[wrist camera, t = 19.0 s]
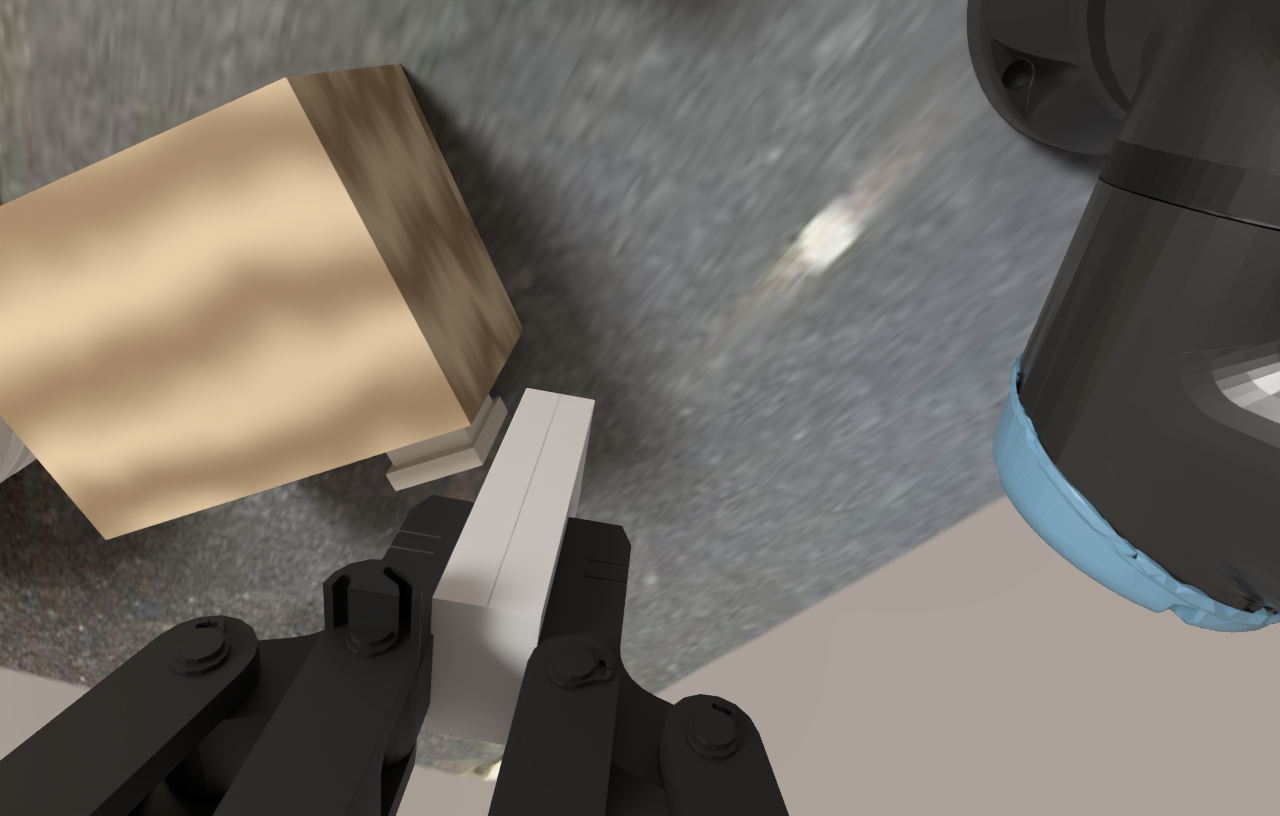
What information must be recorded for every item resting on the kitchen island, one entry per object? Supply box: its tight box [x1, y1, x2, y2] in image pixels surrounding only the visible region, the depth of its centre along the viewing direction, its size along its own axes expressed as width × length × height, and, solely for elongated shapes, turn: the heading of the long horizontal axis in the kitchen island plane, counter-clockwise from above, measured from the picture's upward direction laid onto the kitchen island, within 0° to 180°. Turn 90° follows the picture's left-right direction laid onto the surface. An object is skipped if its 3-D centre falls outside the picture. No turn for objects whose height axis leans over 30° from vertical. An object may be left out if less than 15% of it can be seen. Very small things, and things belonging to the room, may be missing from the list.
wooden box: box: [0, 64, 524, 540], centre depth 39 cm, size 16×22×12 cm
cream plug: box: [385, 394, 508, 491], centre depth 40 cm, size 17×6×6 cm, turn 20°
